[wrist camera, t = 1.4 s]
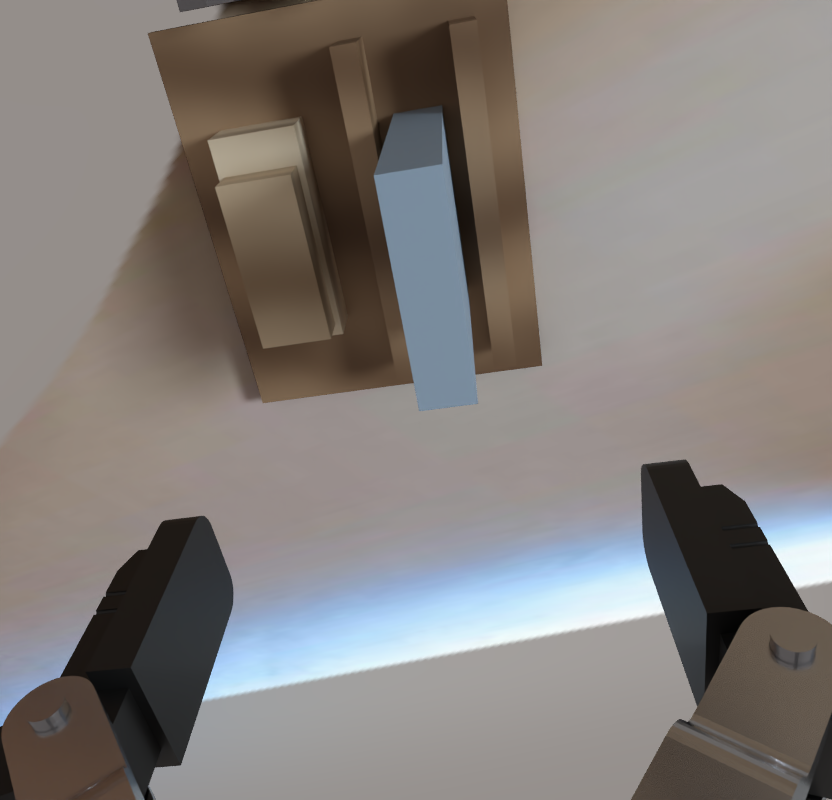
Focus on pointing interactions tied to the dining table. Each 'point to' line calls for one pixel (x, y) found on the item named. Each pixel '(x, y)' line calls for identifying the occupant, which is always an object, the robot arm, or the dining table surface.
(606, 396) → the dining table surface
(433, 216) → the tall sheet
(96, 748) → the robot arm
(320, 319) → the offcut stack
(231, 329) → the dining table surface
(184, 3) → the stand
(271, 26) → the offcut rack
